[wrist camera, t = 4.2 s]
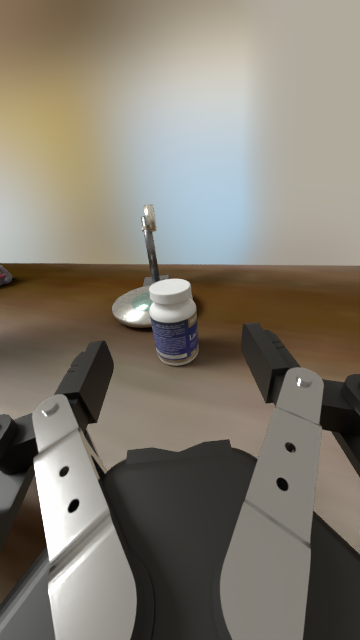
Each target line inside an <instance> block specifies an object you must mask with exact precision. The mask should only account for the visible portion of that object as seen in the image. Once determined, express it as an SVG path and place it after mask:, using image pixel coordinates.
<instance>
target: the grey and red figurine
mask: <svg viewBox="0 0 360 640" xmlns="http://www.w3.org/2000/svg"><path fill="white" fill-rule="evenodd" d="M11 281H12V275H11V274H10V273H9V272H8V271H7V270H6V269H5V268H4V267H3V266H1V265H0V286H1V285H3V284H6V283H9V282H11Z"/></svg>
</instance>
